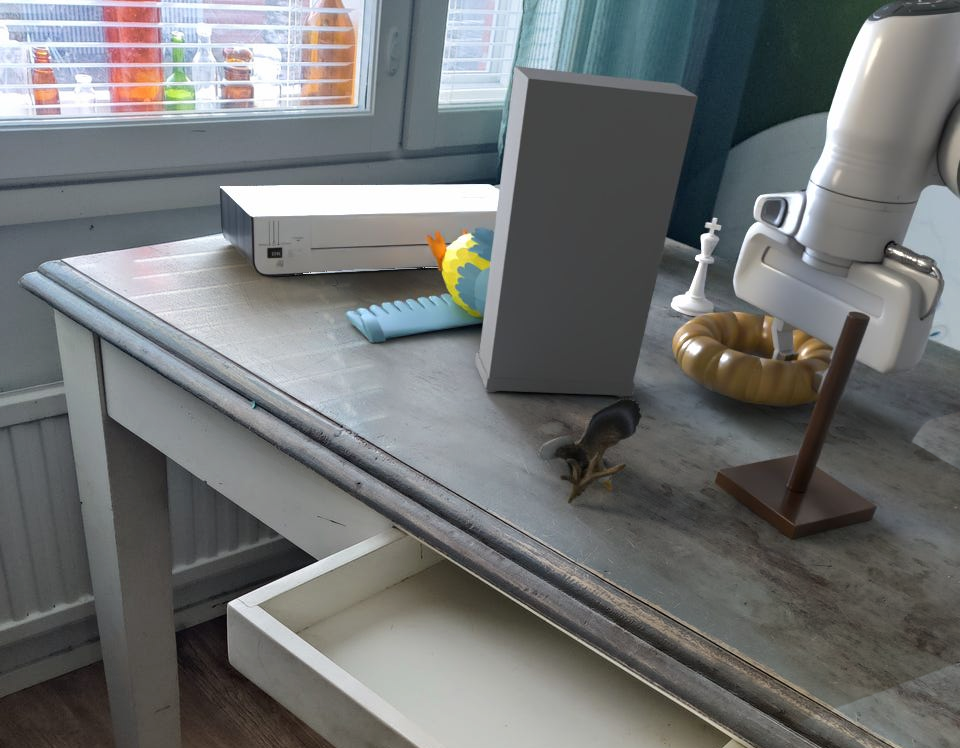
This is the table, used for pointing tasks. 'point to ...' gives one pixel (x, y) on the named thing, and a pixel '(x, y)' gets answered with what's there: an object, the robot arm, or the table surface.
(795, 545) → the table surface
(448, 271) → the blue yellow toy
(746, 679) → the table surface
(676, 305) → the chess piece
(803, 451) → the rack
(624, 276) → the gray rectangular block
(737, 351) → the bread ring
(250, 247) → the laminator
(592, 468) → the eagle figurine
